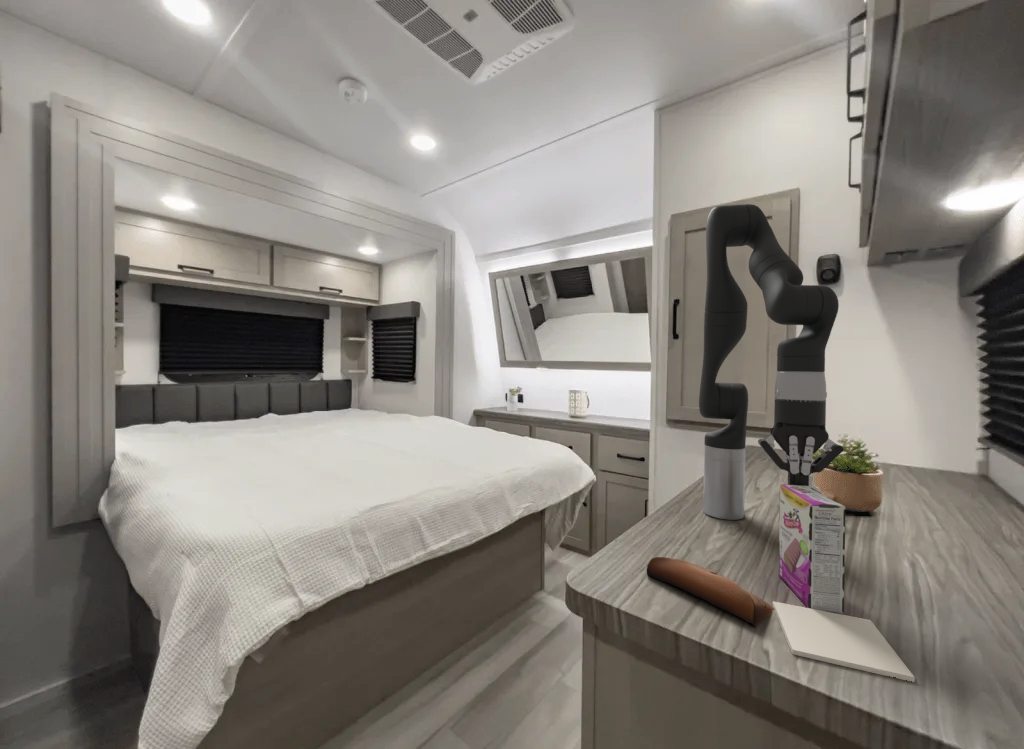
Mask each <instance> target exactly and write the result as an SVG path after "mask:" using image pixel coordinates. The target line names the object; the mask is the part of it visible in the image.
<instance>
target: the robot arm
mask: <svg viewBox="0 0 1024 749" xmlns="http://www.w3.org/2000/svg"><path fill="white" fill-rule="evenodd" d="M706 220H707V221H706V226H705V248H706V249H705V252H706V287H705V288H706V289H705V291H706V292H705V304H704V318H703V320H704V321H703V353H702V354H703V356H702V357H703V358H702V366H701V378H700V387H699V397H698V408H699V409H698V410H699V413H700V415H701V417H702V418H704V419H714V420H715V419H716V420H730V422H729V423H728V424H727V425H726V426H724V427H722V428H719V429H716V430H713V431H710V432H709V431H708V432H707V433H705V435H704V446H703V448H704V451H703V457H704V458H703V460H704V462H703V499H702V501H703V502H702V508H703V509H702V511H703V513H704V514H705V515H708V516H710V517H713V518H716V519H720V520H721V519H722V520H729V521H737V520H742V519H744V518H745V489H746V487H745V484H746V483H745V480H746V441H747V438H746V437H747V421H748V410H749V409H748V408H749V393H748V392H749V391H748V389H747V387H746V385H745V384H744V383H741V382H740V383H739V382H716V381H717V376H718V374H719V372H720V368H721V367H722V366H723V363H724V362H725V360H726V359H727V358H728V357H729V355H730V354H731V353H732V351H733V350H734V349H735V347H736V346H737V345H738V344H739V342H740V341H741V340H742V338H743V336H744V335H745V332H746V330H747V320H748V301H747V300H748V299H747V298H746V296H745V293H744V292H743V291H742V289H741V287H740V285H739V284H738V283H737V281H736V280H735V278H734V275H733V273H732V271H731V270H730V267H729V263H728V257H727V256H728V255H727V248H729V247H730V248H735V247H744V246H748V247H749V248H750V249H752V252H751V254H750V257H749V259H748V270H749V271H748V272H749V274H750V276H751V277H752V280H753V281H754V282H755V283H756V285H757V286H758V287H759V289H760V291H761V292H762V297H763V300H764V306H765V312H766V314H767V317H768V318H770V320H771V321H773V322H774V323H777V324H779V325H784V326H802V328H801V331H800V333H799V335H798V336H797V337H791V338H787V339H784V340H781V341H780V342H779V343H778V345H777V351H776V353H777V354H776V356H777V358H776V359H777V360H776V376H775V384H774V409H773V410H774V411H773V412H774V415H773V416H774V419H773V420H774V421H773V427H772V428H771V429H770V434H769V435H767V436H766V437H764V438H759V439H758V440H757V443H758V444H759V446H760V448H762V450H763V451H764V452H765V453H766V455H767V456H768V457H769V458H770V459H771V460H772V462H773V463H774V464H775V465H776V466H777V467H778V468H779V469H780V470H783V471H786V472H787V484H788V485H802V486H809V475H812V474H815V473H818V474H819V473H822V472H823V471H824V469H826V468H827V467H828V466H829V465H830V464H831V463H832V462H833V461H834V460H835V459H837V457H839V456H840V455H841V453H842V452H844V447H843V445H840V444H838V443H835V442H834V441H833V440H832V439H830V437H829V432H828V431H827V429H826V421H827V420H826V417H827V415H826V414H827V397H828V393H827V383H826V382H827V381H826V375H825V374H826V373H825V371H826V348H827V345H828V342H829V339H830V336H831V334H832V333H831V332H832V330H833V327H834V324H835V321H836V319H837V316H838V313H839V307H840V306H839V299H838V295H837V294H836V291H834V290H833V289H832V288H831V287H829V286H826V285H814V284H812V285H809V284H808V285H806V284H805V285H804V284H803V281H804V275H803V274H804V273H803V271H802V270H801V268H800V267H799V265H797V264H796V262H795V261H793V259H792V258H791V257H790V256H789V255H788V254H787V252H785V251H784V249H783V248H782V246H781V245H780V243H779V241H778V239H777V237H776V235H775V233H774V231H773V229H772V226H771V224H770V223H769V220H768V219H767V217H766V214H765V213H764V212H763V210H762V209H761V208H760V206H757V205H755V204H750V203H747V204H746V203H742V204H727V205H716V206H714V207H713V208H712V209H711V210H710V211H709V214H708V215H707V219H706ZM774 441H775V442H776V443H777V445H778V446H779V447H780V448H781V449H782V451H784V452H785V459H786V462H785V461H784V460H783V459H782V458H781V457H780V455H778V453H777V452H776V450H774V448H775V447H776V444H775V442H774ZM822 446H823V447H822ZM821 448H822V450H823V452H822V453H821V454H819V455H818V457H816V458H815V459H814V460H813V455H814V454H816V453H818V451H819V450H820V449H821Z"/></svg>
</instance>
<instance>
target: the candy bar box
mask: <svg viewBox="0 0 1024 749" xmlns="http://www.w3.org/2000/svg"><path fill="white" fill-rule="evenodd" d="M778 504H779V508H778V509H779V512H778V513H779V515H778V516H779V518H778V519H779V520H778V523H779V524H778V526H779V531H778V532H779V533H778V534H779V535H778V536H779V537H778V542H779V543H778V577H780V578H781V580H782V581H783V582H784V583H785V585H787V587H788V588H790V590H791V591H792V592H793V593H794V594H795V595H796V596H797V598H798V599H799V601H801V602H802V604H803V605H804V606H805V608H810V609H816V610H821V611H826V612H831V613H836V614H842V615H845V570H846V568H845V567H846V565H845V563H846V562H845V560H846V552H845V551H846V509H847V507H846V506H845V505H843V504H842V503H840V502H838V501H836V500H834V499H832V498H830V497H829V496H827V495H825V494H824V493H822V492H821V491H820V492H818V491H817V490H815V489H813V488H811V487H810V486H802V485H788V483H787V484H786V483H784V484H783V483H782V484H779V502H778Z"/></svg>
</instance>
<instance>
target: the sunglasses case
mask: <svg viewBox="0 0 1024 749" xmlns="http://www.w3.org/2000/svg"><path fill="white" fill-rule="evenodd" d="M646 574H647V576H649V577H652V578H655V579H656V580H658V581H663V582H665V584H666V583H667V584H670V585H672V586H674V587H676V588H680V589H682V590H684V591H686V592H688V593H689V594H691V595H693V596H695V597H697V598H700V599H702V600H704V601H707V602H709V603H710V604H712V605H714V606H716V607H717V608H719V609H722V610H724V611H725V612H728V613H730V614H732V615H734V616H735V617H738V618H741V619H742V620H744V621H745V622H748V623H749V624H752V625H753V626H754V628H756V627H757V626H758V625H759V624H761V623H762V622H763V621H765V619H766V618H768V617H769V616H770V615H771V614H772V613H773V611H775V610H774V607H773V605H771V604H769V603H768V602H767V601H765V600H764V599H762V598H761V597H759V596H757V595H755V594H754V593H752V592H750V591H748V590H746V589H745V588H743V587H741V586H740V585H738V583H736V582H735V581H734V580H732V579H730V578H728V577H727V576H724V575H721V574H719V573H718V572H716V571H714V570H710V569H709V568H706V567H703V566H700V565H697V564H695V563H692V562H689V561H686V560H681V559H679V558H674V557H673V558H672V557H665V556H655V557H652V558H651V559H650V560H649V562H648V563H647V567H646Z"/></svg>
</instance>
